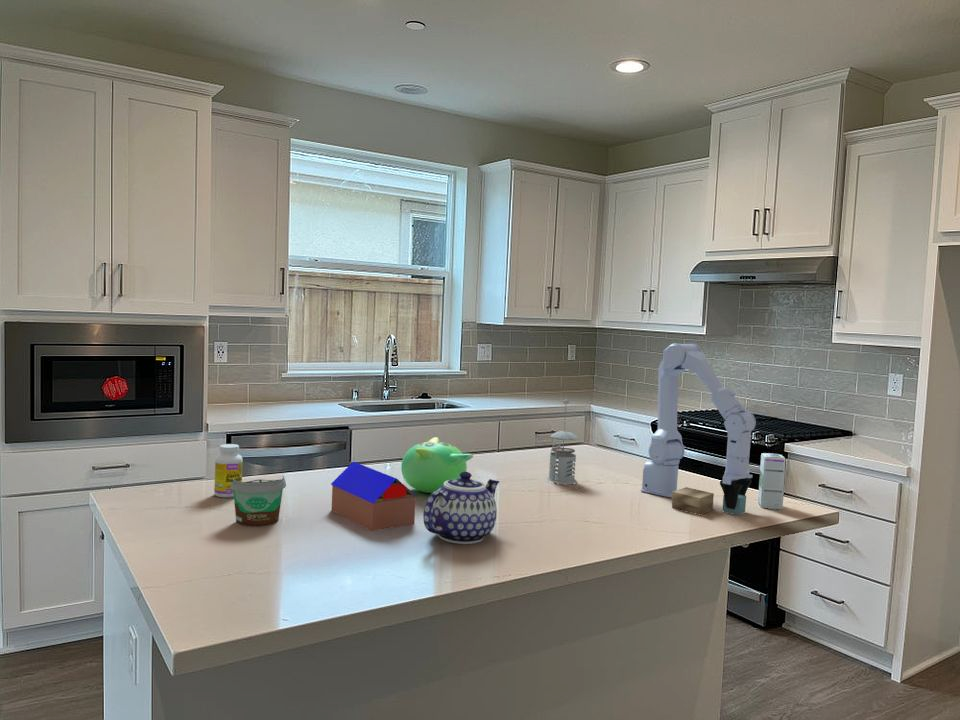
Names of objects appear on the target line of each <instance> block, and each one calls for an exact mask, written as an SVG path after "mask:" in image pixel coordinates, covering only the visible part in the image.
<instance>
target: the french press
mask: <svg viewBox="0 0 960 720" xmlns="http://www.w3.org/2000/svg"><path fill="white" fill-rule="evenodd" d="M562 404H564V407H565V408H564V419H566V417H567V414H566V413H567V405H568V404H570V401H569V400H568V399H564V400H562ZM563 425H564V426H563V430H561V431H556V432H553V433H552V434H550V437H551V438H552V439H554V440H559V441H563V444H561V443H559V444H558V445H557V442H554V443H553V444H552V446H551V450H550V454H549V455H550V456H549V473H548V476H547V478H546V479H547V480H548V481H551V482H553V483H558V484H573V485H575V484H574V483H577V482H578V481H577V479H576V478H575V474H576V459H577V457H576V456H577V455H576V454H575V452H576V450H575V449H574V448H570V447H565V441H574V440H577V439H578V436H577V435H575V434H574V433H573V432H571V431H570V432H569V431H566V422H564V424H563ZM554 446H555V447H554ZM558 484H557V485H558ZM577 484H578V483H577Z"/></svg>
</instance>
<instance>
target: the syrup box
mask: <svg viewBox="0 0 960 720" xmlns="http://www.w3.org/2000/svg"><path fill="white" fill-rule="evenodd" d="M759 464H760V469H759V481H758V499H757V500H758V501H757V503H758V504H759V506H760V507H761V508H762V509H767V508H768V510H769V509H770V510H777V509H778V510H781V511H782V510H783V507H784V506H783V505H784V493H785V490H784V489H785V478H786V477H785V475H786V458H785V456H783V454H779V453H772V452H771V453H770V452H768V453H767V452H763V453H761V455H760V463H759Z"/></svg>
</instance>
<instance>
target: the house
mask: <svg viewBox="0 0 960 720" xmlns="http://www.w3.org/2000/svg"><path fill="white" fill-rule="evenodd" d="M330 485H331V486H332V487H331V489H332V490H331V512H334V513H336V514H338V515H340V516H341V517H344V518H346V519H348V520H350V521H351V522H354V523H355V524H358V525H359V526H361V527H362V528H365V529H367V530H369V531H371V532H375V531H376V532H377V531H381V530H387V529H388V530H389V529H392V528H399V527H403V526H405V527H406V526H409V525H414V524H415V519H416V518H415V516H416V498H417V497H418V496H417V495H416V493H414V492H413V491H411V490H410V489H409V488H408V487H407V486H406V485H405V484H403V482H401V481H400V480H399V478H397V477H394V476H391V475H389V474H386V473H383V472H381V471H379V470H376V469H373V468H371V467H368V466H365V465H363V464H360V463H358V462H356V461H352V462H351V463H350V464H349V465H347V467H346V468H345V469H344V470H343V471H342V472H341V473H340V474H339V475H338V476H337V477H336V478H335V479H334V480H333V481H332V482H331V483H330Z"/></svg>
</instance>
